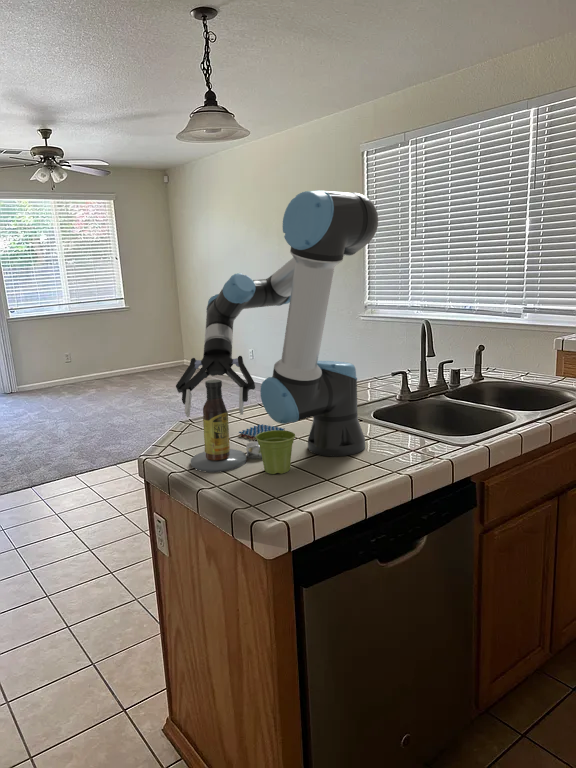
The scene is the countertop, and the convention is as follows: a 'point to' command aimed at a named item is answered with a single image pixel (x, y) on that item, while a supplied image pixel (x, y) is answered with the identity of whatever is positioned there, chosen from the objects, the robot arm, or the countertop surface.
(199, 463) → the disc
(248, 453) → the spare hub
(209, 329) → the robot arm
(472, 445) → the countertop surface
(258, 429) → the woven mat
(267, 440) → the plant pot
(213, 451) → the sauce bottle
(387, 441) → the countertop surface
